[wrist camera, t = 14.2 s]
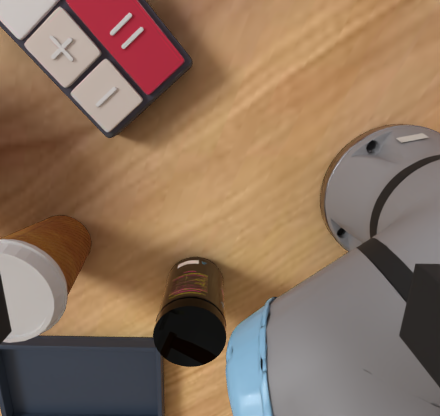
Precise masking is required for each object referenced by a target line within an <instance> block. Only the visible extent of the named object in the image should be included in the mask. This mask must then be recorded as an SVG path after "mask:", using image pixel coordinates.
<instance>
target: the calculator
mask: <svg viewBox="0 0 440 416" xmlns="http://www.w3.org/2000/svg"><path fill="white" fill-rule="evenodd" d="M0 26H1V27H2V29H3V30H4V31H5V32H6V33H7V34H8V35H9V36H10V37H11V38H12V39H13V40H14V41H15V42H16V43H17V44H18V45H19V46H20V47H21V48H22V49H23V50H24V51H25V53H26V54H27V55H28V56H29V57H30V58H31V59H32V60H33V61H34V62H35V63H36V64H37V65H38V66H39V67H40V68H41V69H42V70H43V71H44V72H45V73H46V74H47V75H48V77H49V78H50V79H51V80H52V81H53V82H54V83H55V84H56V85H57V86H58V87H59V88H60V89H61V90H62V91H63V92H64V93H65V94H66V95H67V96H68V97H69V98H70V100H71V101H72V102H73V103H74V104H75V105H76V106H77V107H78V108H79V109H80V110H81V111H82V112H83V113H84V114H85V115H86V116H87V117H88V118H89V119H90V120H91V121H92V122H93V124H94V125H95V126H96V127H97V128H98V129H99V130H100V131H101V132H102V133H103V134H104V135H105V136H106V137H108V138H112V137H114V136H115V135H117V134H119V133H120V132H121V131H122V130H123V129H124V128H125V127H127V126H128V125H129V124H130V123H131V122H132V121H133V120H134V119H135V118H136V117H137V116H138V115H140V114H141V113H142V112H143V111H144V110H145V109H146V108H147V107H148V106H149V105H150V104H151V103H153V102H154V101H155V100H156V99H157V98H158V97H159V96H160V95H161V94H162V93H163V92H164V91H166V90H167V89H168V88H169V87H170V86H171V85H172V84H173V83H174V82H175V81H176V80H178V79H179V78H180V77H181V76H182V75H183V74H184V73H185V72H186V71H187V70H188V69H189V68H190V67H191V66H192V64H193V63H192V60H191V58H190V56H189V55H188V54H187V53H186V51H185V50H184V49H183V47H182V46H181V45H180V44H179V42H178V41H177V40H176V39H175V37H174V36H173V35H172V34H171V32H170V31H169V30H168V28H167V27H166V26H165V25H164V23H163V22H162V21H161V20H160V18H159V17H158V16H157V15H156V13H155V12H154V11H153V9H152V8H151V7H150V6H149V4H148V3H147V2H146V1H145V0H0Z"/></svg>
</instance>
